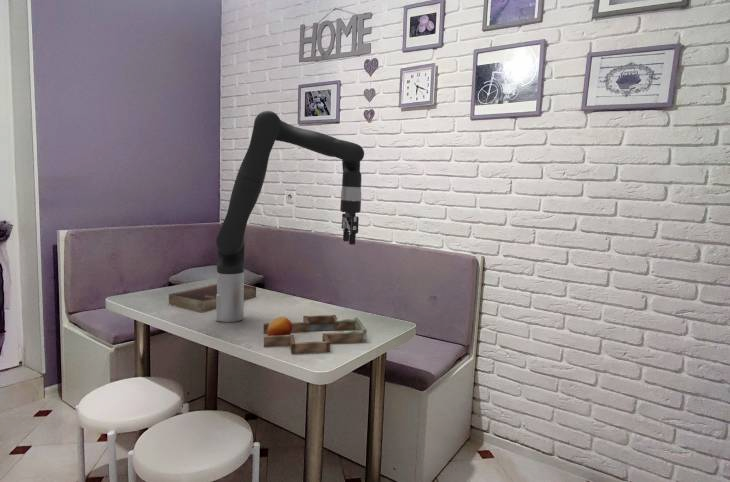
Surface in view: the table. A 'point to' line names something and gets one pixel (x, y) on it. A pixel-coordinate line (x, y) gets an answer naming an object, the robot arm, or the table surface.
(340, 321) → the trap box
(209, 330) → the table surface
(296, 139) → the robot arm
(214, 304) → the latched wooden chest
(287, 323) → the fruit
